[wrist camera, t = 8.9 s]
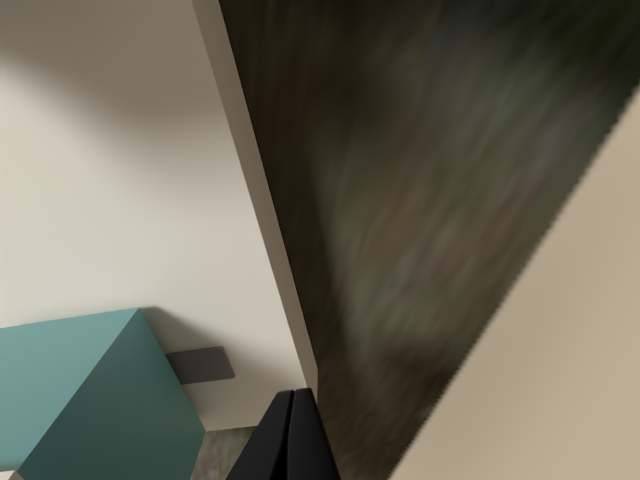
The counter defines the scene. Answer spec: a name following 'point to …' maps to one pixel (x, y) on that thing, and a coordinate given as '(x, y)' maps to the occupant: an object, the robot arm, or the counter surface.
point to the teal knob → (93, 402)
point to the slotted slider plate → (146, 195)
